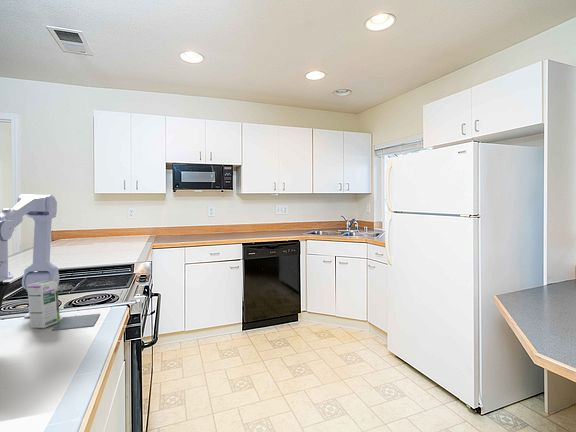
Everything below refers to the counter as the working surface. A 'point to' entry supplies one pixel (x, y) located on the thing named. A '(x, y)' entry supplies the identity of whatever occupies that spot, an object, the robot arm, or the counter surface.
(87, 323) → the mat
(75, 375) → the counter surface
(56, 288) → the syrup box
